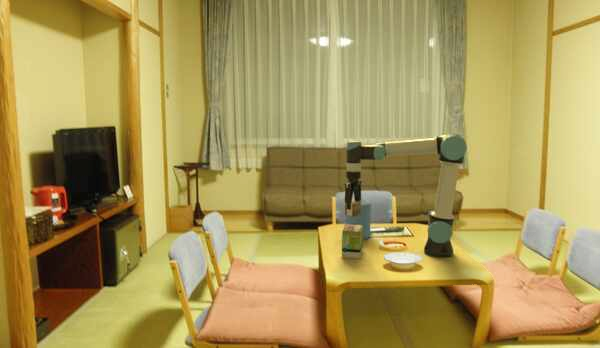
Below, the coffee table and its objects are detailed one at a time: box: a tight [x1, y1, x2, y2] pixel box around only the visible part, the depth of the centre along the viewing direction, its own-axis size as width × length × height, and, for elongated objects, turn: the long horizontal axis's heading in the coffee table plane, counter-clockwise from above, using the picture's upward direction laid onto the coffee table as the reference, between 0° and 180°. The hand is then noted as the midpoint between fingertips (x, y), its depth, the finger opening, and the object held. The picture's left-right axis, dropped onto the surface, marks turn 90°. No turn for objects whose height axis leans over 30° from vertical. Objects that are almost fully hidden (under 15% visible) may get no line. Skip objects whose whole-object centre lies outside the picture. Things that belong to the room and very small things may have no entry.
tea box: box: [341, 223, 364, 260], centre depth 259 cm, size 15×10×15 cm
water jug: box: [344, 197, 372, 240], centre depth 293 cm, size 16×16×28 cm
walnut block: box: [344, 200, 361, 217], centre depth 257 cm, size 6×6×7 cm
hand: (352, 214), depth 257 cm, fingers closed on walnut block, 6 cm apart
